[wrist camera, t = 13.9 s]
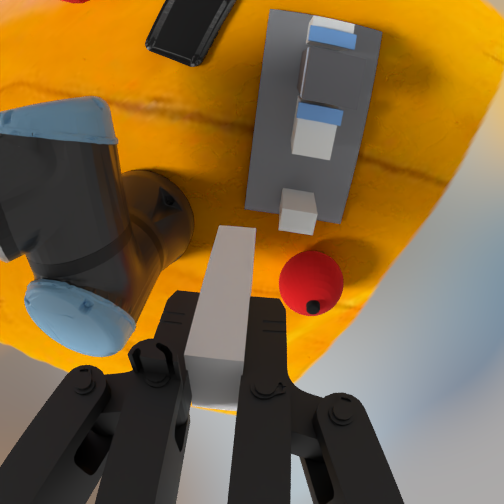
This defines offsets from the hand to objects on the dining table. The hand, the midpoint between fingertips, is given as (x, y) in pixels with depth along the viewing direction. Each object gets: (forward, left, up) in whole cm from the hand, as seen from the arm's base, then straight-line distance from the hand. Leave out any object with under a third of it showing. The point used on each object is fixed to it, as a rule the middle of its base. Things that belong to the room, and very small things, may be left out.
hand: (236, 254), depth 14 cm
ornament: (+9, -20, -29) cm, 36 cm away
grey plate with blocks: (+5, +1, -28) cm, 29 cm away
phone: (-10, +14, -29) cm, 34 cm away
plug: (+5, +7, -27) cm, 29 cm away
